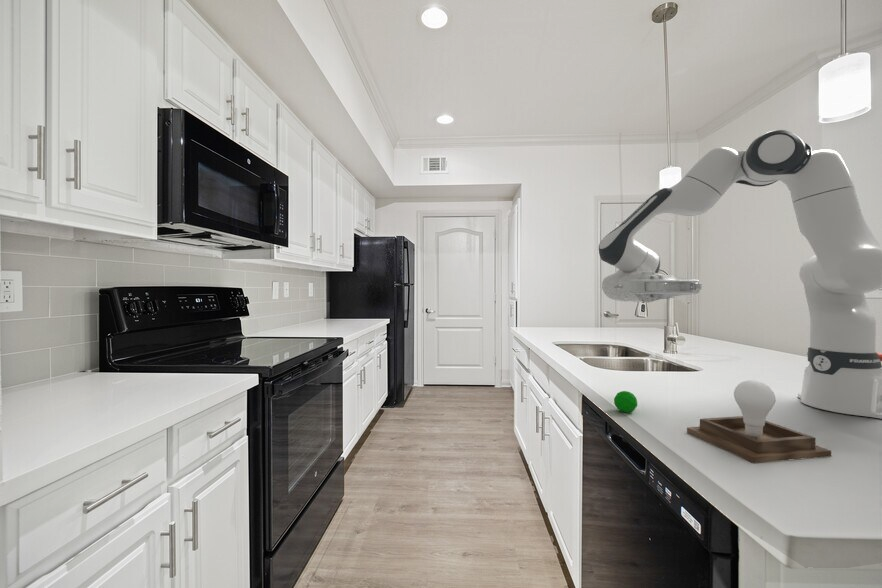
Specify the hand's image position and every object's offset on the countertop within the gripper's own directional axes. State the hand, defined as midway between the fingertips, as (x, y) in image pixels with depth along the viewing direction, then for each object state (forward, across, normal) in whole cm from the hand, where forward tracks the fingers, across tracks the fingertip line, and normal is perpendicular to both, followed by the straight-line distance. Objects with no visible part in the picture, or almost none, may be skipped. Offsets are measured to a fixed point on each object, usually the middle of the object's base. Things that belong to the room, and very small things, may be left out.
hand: (682, 286), depth 95 cm
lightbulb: (+22, -4, +29) cm, 37 cm away
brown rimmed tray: (+22, -4, +30) cm, 37 cm away
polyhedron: (+1, -16, +30) cm, 34 cm away
